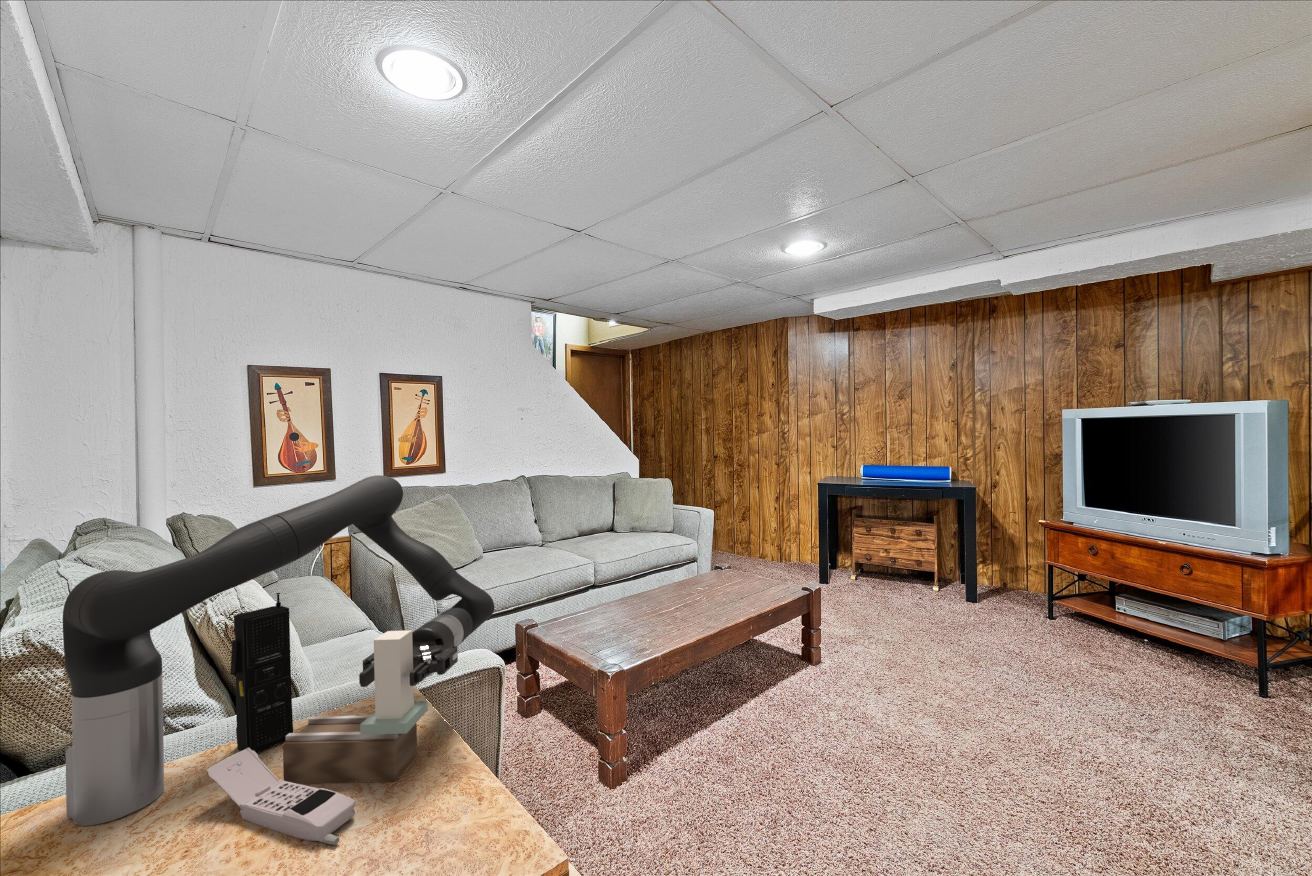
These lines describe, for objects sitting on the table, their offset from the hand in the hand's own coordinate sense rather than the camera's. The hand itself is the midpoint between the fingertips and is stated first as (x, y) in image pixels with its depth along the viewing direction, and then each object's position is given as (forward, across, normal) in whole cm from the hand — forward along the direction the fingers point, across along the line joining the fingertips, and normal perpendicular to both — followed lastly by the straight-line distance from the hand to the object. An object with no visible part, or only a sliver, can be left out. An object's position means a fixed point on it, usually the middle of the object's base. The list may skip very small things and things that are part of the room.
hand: (387, 680), depth 81 cm
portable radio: (-10, -28, +15) cm, 33 cm away
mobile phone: (+8, -10, +15) cm, 20 cm away
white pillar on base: (-2, 0, +7) cm, 8 cm away
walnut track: (-2, -7, +14) cm, 16 cm away
